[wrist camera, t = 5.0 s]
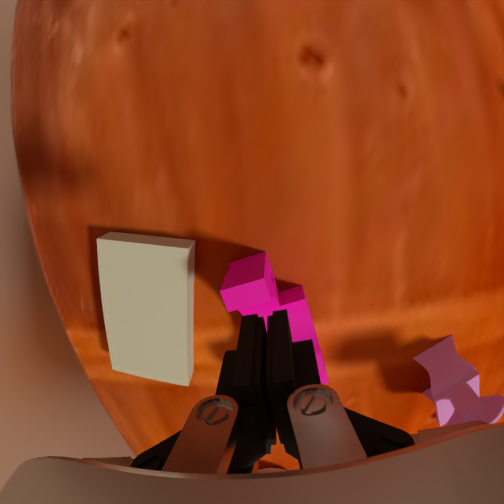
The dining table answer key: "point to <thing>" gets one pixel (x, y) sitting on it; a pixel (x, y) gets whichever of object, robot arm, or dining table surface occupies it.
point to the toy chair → (456, 387)
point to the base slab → (148, 304)
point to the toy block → (269, 300)
